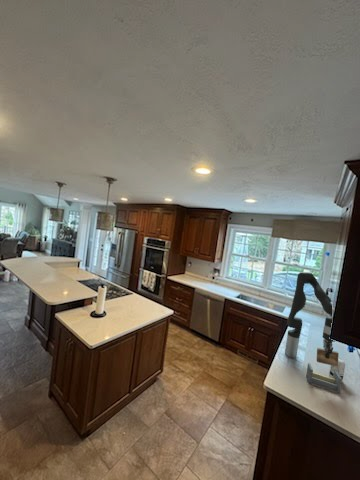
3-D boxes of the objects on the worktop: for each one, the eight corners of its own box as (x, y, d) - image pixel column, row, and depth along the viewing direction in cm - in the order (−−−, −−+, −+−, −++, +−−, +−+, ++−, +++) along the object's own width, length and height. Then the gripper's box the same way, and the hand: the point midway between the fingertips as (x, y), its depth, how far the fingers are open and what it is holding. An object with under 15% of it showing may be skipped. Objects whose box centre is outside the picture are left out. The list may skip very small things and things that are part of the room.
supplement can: (327, 374, 162) (330, 355, 161) (340, 378, 159) (343, 358, 158) (330, 380, 154) (333, 360, 154) (344, 384, 151) (347, 364, 151)
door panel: (316, 360, 151) (317, 347, 151) (336, 364, 147) (337, 351, 147) (317, 362, 148) (318, 349, 149) (337, 366, 144) (338, 353, 144)
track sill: (306, 376, 155) (308, 362, 155) (334, 385, 149) (337, 371, 149) (308, 383, 147) (310, 369, 147) (339, 393, 141) (341, 379, 140)
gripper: (320, 327, 156) (317, 351, 156) (326, 334, 143) (322, 360, 143) (332, 330, 153) (329, 354, 153) (339, 338, 140) (336, 363, 140)
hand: (326, 357), depth 148 cm, fingers closed on door panel, 2 cm apart
